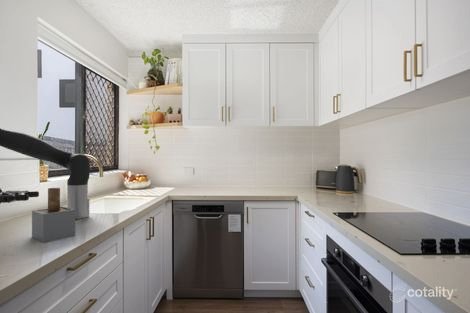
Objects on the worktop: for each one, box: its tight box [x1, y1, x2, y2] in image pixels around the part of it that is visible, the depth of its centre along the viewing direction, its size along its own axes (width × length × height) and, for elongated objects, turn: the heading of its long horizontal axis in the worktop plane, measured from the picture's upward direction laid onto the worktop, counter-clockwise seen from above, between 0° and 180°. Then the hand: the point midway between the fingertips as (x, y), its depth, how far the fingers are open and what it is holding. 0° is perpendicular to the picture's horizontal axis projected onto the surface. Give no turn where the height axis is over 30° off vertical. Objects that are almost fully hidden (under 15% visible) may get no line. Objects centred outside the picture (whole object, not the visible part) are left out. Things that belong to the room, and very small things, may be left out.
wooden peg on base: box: [39, 187, 67, 214], centre depth 104 cm, size 8×8×10 cm
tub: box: [31, 206, 76, 244], centre depth 104 cm, size 11×11×10 cm
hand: (33, 195), depth 102 cm, fingers open, 8 cm apart
